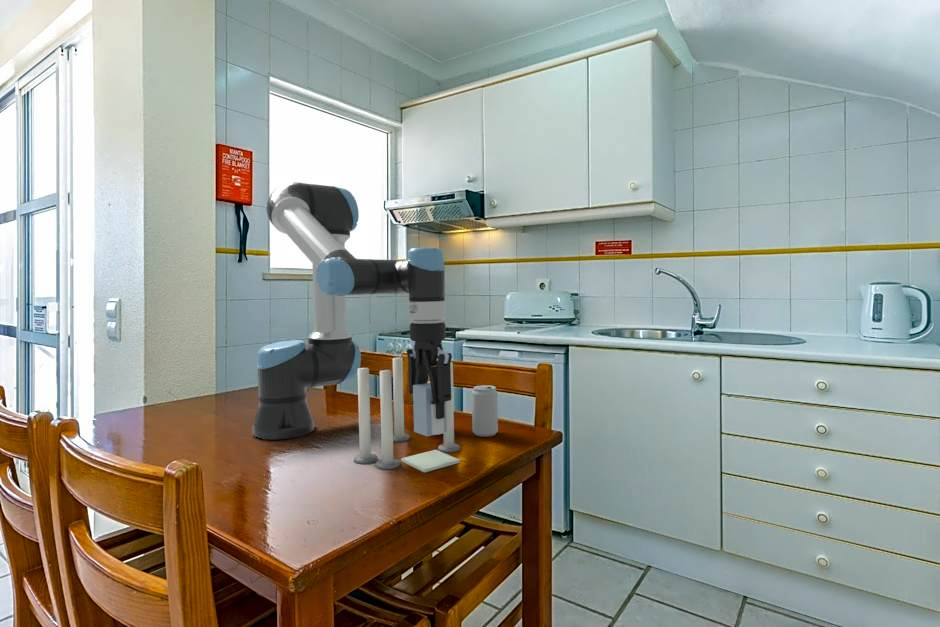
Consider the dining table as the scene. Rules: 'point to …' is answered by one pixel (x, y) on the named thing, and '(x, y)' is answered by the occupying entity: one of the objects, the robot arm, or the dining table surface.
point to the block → (424, 409)
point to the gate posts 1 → (364, 411)
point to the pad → (430, 460)
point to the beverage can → (484, 410)
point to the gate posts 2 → (387, 423)
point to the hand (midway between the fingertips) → (430, 430)
